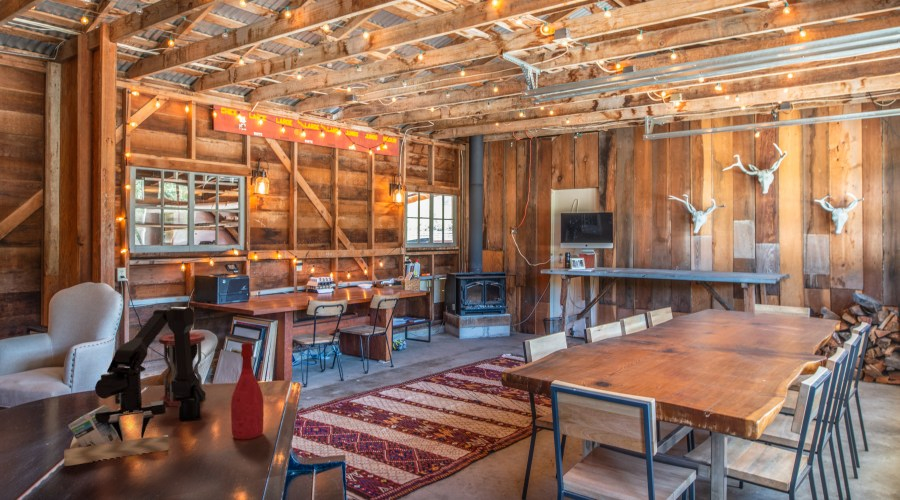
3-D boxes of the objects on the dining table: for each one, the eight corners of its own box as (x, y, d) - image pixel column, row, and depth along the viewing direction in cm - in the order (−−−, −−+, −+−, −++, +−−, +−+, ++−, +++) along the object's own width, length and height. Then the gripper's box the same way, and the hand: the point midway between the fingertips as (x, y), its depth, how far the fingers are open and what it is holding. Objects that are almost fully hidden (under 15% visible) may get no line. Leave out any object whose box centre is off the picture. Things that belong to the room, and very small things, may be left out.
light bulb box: (107, 445, 168) (88, 413, 167) (85, 457, 167) (66, 425, 167) (123, 433, 179) (105, 403, 178) (103, 444, 178) (85, 414, 177)
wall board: (166, 432, 188) (166, 420, 188) (168, 449, 173) (168, 436, 173) (71, 446, 176) (71, 433, 176) (64, 466, 161) (64, 451, 161)
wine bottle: (270, 432, 188) (269, 341, 187) (248, 442, 179) (247, 346, 178) (247, 428, 192) (246, 338, 192) (224, 438, 183) (223, 343, 183)
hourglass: (176, 394, 234) (175, 332, 234) (213, 395, 232) (213, 333, 231) (150, 405, 218) (149, 339, 218) (190, 407, 216) (189, 340, 215)
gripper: (163, 378, 187) (165, 426, 188) (96, 386, 179) (98, 436, 179) (164, 387, 178) (166, 437, 178) (93, 395, 169) (95, 448, 170)
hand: (132, 439), depth 177 cm, fingers open, 5 cm apart
